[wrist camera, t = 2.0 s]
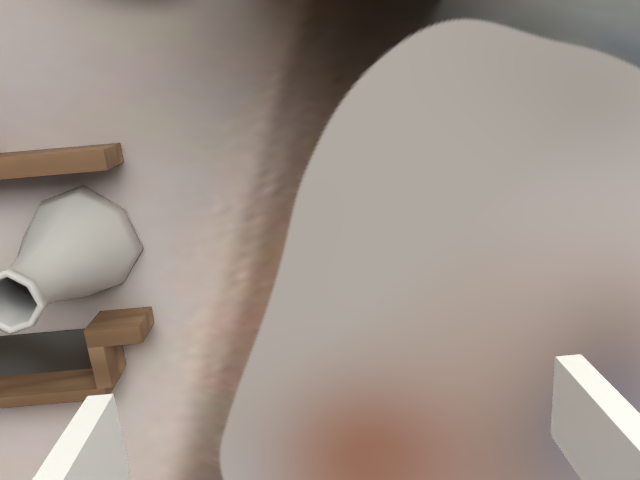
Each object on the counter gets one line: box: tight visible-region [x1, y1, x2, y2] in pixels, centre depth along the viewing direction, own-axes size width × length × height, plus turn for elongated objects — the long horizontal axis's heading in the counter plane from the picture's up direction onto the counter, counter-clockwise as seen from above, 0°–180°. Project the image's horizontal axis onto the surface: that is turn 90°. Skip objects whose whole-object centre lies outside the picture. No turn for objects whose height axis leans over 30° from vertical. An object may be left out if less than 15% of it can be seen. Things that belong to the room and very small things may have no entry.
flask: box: [0, 186, 143, 334], centre depth 31 cm, size 7×7×10 cm
